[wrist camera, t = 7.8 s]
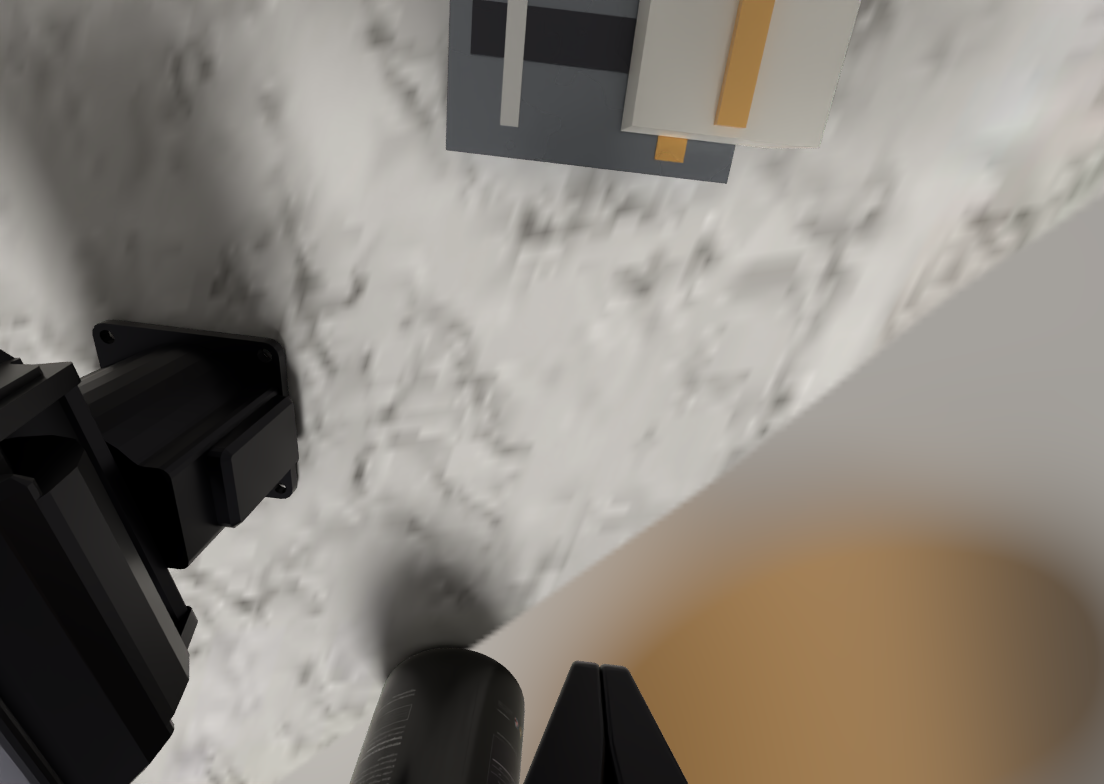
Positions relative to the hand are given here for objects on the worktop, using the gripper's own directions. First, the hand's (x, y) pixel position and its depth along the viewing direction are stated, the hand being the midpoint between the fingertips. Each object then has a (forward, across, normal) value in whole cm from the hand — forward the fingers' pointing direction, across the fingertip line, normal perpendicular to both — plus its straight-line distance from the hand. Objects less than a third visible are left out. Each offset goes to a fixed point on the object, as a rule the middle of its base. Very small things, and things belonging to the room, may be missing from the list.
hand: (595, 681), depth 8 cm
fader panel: (+12, +1, -10) cm, 16 cm away
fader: (+11, -2, -10) cm, 15 cm away
